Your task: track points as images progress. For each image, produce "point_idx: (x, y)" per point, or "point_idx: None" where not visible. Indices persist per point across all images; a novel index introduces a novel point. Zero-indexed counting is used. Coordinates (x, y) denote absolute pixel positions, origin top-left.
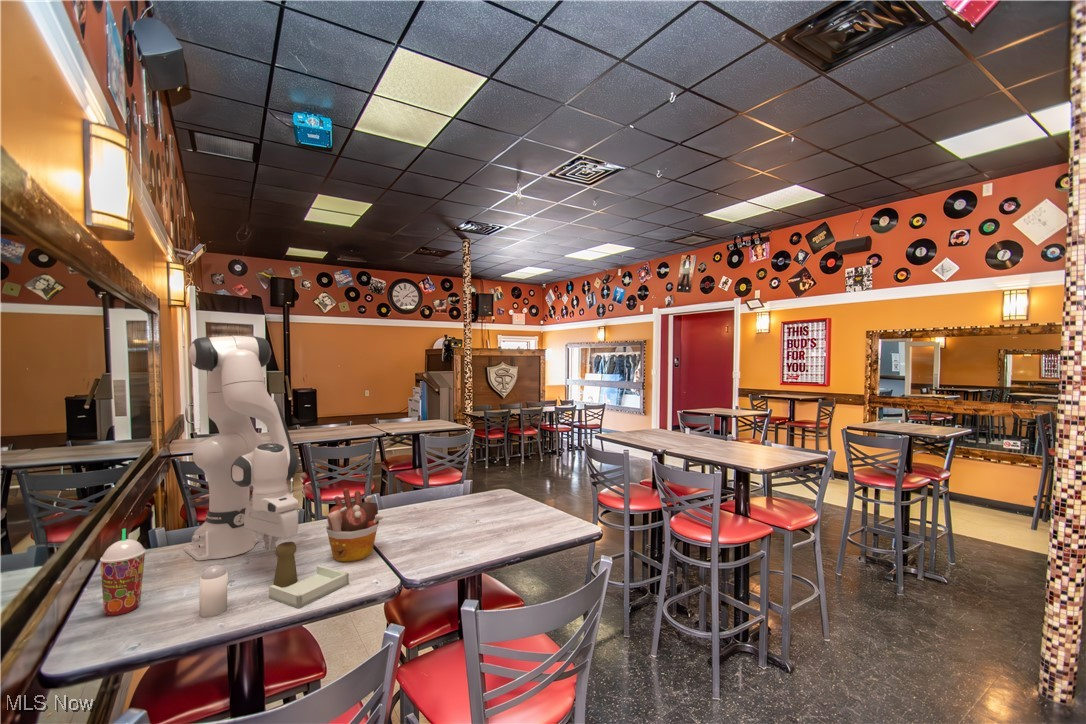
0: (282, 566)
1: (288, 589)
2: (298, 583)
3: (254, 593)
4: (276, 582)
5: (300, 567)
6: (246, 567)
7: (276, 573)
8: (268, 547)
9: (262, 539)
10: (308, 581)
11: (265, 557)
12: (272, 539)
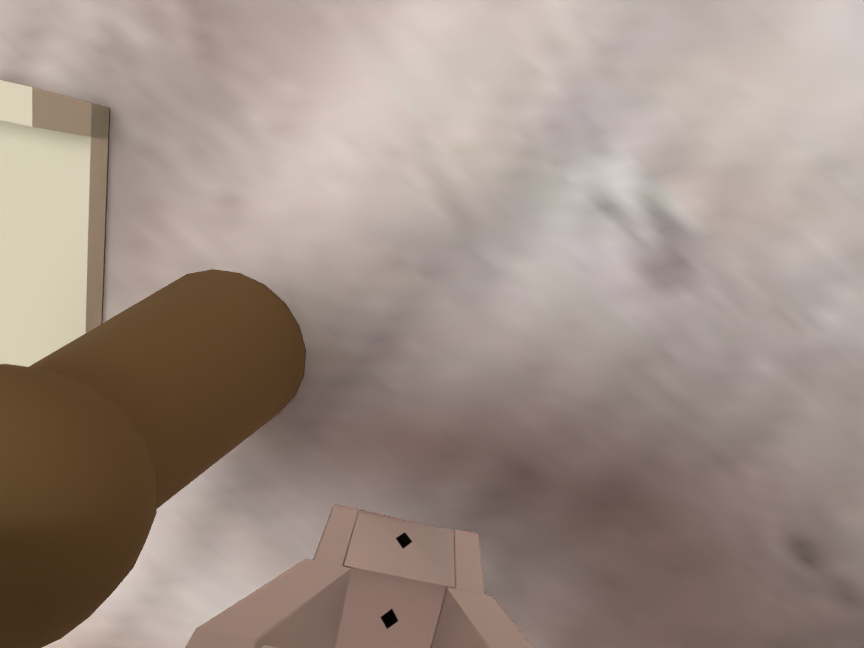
0: (78, 338)
1: (33, 225)
2: (59, 330)
3: (291, 139)
4: (206, 280)
5: None
6: (748, 485)
7: (182, 306)
8: (360, 528)
9: (521, 643)
10: None
11: (739, 645)
12: (205, 635)
